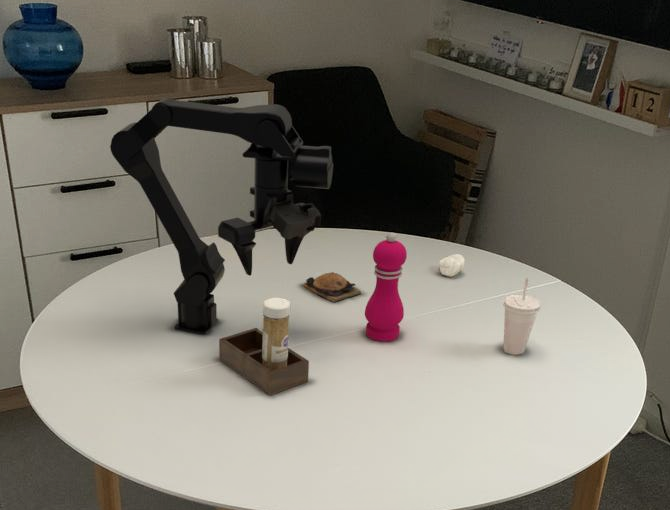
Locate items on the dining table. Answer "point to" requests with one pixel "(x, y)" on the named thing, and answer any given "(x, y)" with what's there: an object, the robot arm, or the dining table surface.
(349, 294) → the burger on wooden board
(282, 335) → the sprinkles bottle
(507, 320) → the smoothie
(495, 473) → the dining table surface
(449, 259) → the dumpling
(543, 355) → the dining table surface
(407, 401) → the dining table surface
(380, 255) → the pepper mill
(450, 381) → the dining table surface
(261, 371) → the wooden divided tray
